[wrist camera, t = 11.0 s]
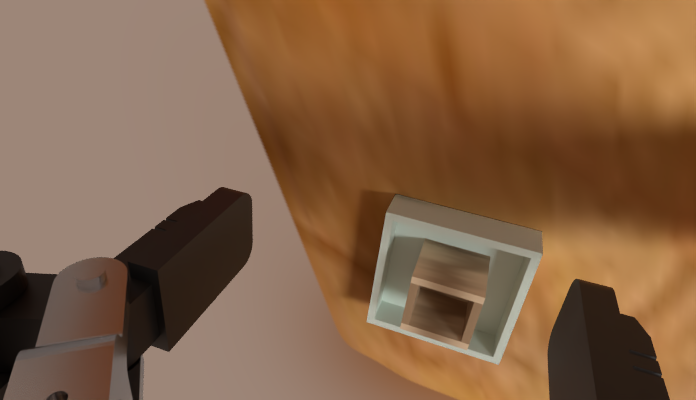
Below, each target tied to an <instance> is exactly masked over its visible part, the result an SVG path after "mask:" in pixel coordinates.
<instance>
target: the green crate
mask: <svg viewBox="0 0 696 400" xmlns="http://www.w3.org/2000/svg"><path fill="white" fill-rule="evenodd" d="M425 238H426V239H430V240H433V241H437V242H441V243H444V244H448V245H451V246H455V247H458V248H462V249H466V250H469V251H473V252H476V253H480V254H483V255H487V256H490V264H489V272H488V280H487V289H486V297H485V300H484V303H483V306H482V309H481V312H480V315H479V318H478V321H477V324H476V326H475V329H474V332H473V335H472V338H471V341H470V344H469V347H468V349H467V350H464V349H461V348H458V347H455V346H452V345H449V344H446V343H443V342H440V341H437V340H434V339H431V338H428V337H424V336H421V335H418V334H415V333H412V332H409V331H406V330H403V329H400V325H401V321H402V317H403V313H404V308H405V304H406V300H407V296H408V291H409V287H410V283H411V279H412V275H413V272H414V269H415V266H416V264H417V261H418V258H419V255H420V252H421V249H422V246H423V243H424V241H425ZM542 255H543V246H542V231H538V230H534V229H530V228H526V227H522V226H518V225H515V224H511V223H507V222H503V221H499V220H495V219H491V218H487V217H484V216H480V215H476V214H472V213H468V212H464V211H460V210H456V209H453V208H449V207H445V206H441V205H437V204H433V203H429V202H425V201H422V200H418V199H414V198H410V197H406V196H402V195H398V194H395V196H394V198H393V200H392V202H391V204H390V206H389V208H388V209H387V211H386V216H385V222H384V227H383V233H382V238H381V244H380V250H379V255H378V261H377V267H376V272H375V278H374V283H373V289H372V295H371V300H370V306H369V311H368V317H367V322H368V323H371V324H375V325H378V326H381V327H384V328H387V329H390V330H393V331H396V332H399V333H402V334H405V335H408V336H412V337H415V338H418V339H421V340H424V341H427V342H430V343H433V344H436V345H439V346H442V347H446V348H449V349H452V350H455V351H458V352H461V353H464V354H467V355H470V356H473V357H476V358H479V359H483V360H486V361H489V362H492V363H495V364H498V365H499V363H500V361H501V358H502V356H503V353H504V350H505V348H506V345H507V343H508V340H509V338H510V335H511V333H512V330H513V328H514V325H515V323H516V320H517V318H518V315H519V313H520V310H521V308H522V305H523V303H524V300H525V298H526V295H527V293H528V290H529V287H530V285H531V282H532V280H533V277H534V275H535V272H536V270H537V267H538V265H539V262H540V260H541V257H542Z"/></svg>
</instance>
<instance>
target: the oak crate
mask: <svg viewBox="0 0 696 400" xmlns="http://www.w3.org/2000/svg"><path fill="white" fill-rule="evenodd" d="M489 264H490V256H487V255H483V254H480V253H476V252H473V251H469V250H466V249H462V248H458V247H455V246H451V245H448V244H444V243H441V242H437V241H433V240H430V239H426V238H425V241H424V243H423V246H422V249H421V252H420V255H419V258H418V261H417V264H416V266H415V269H414V272H413V275H412V279H411V283H410V287H409V291H408V296H407V300H406V304H405V308H404V313H403V317H402V321H401V325H400V329H403V330H406V331H409V332H412V333H415V334H418V335H421V336H424V337H428V338H431V339H434V340H437V341H440V342H443V343H446V344H449V345H452V346H455V347H458V348H461V349H464V350H467V349H468V347H469V344H470V341H471V338H472V335H473V332H474V329H475V326H476V324H477V321H478V318H479V315H480V312H481V309H482V306H483V303H484V300H485V297H486V289H487V280H488V272H489Z"/></svg>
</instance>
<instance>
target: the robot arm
mask: <svg viewBox="0 0 696 400" xmlns="http://www.w3.org/2000/svg"><path fill="white" fill-rule="evenodd" d="M252 240H253V239H252V199H251V196H250V195H249V194H247V193H243V192H240V191H236V190H232V189H228V188H224V187H221V188H219V189H217V190H216V191H215V192H214V193H212V194H211V195H210V196H208V197H207V198H206V199H205V200H203V201H200V200H198V201H195V202H193V203H190V204H188V205H185V206H183V207H180V208H179V209H177V210H176V211H175V212H173V213H172V214H171V215H170V216H168V217H167V218H166V221H165V220H163V221H162V222H161V223H159V224H158V225H157V226H156V227H155V229H151V230H150V231H149V232H147V233H146V234H145V235H144V236H142V237H141V238H140V239H138V240H137V241H136V242H134V243H133V244H132V245H130V246H129V247H128V248H127V249H125V250H124V251H123V252H121V253H120V254H119V255H118V256H116V257H115V258H114V259H113V258H106V257H97V258H90V259H85V260H82V261H79V262H76V263H74V264H72V265H70V266H68V267H66V268H65V269H63V270H62V271H61V272H60V273H59V274H58V275H57V274H38V273H25V270H24V267H23V264H22V261H21V258H20V257H19V256H18V255H16V254H15V253H12V252H8V251H0V400H143V378H144V375H143V374H144V359H143V353H144V352H145V351H146V350H147V349H148V348H149V347H150V346H154V347H157V348H160V349H163V350H165V351H170V350H171V349H172V348H173V347H174V346H175V344H176V343H177V342H178V341H179V340H180V339H181V338H182V336H183V335H184V334H185V333H186V332H187V331H188V330H189V328H190V327H191V326H192V325H193V324H194V323H195V322H196V320H197V319H198V318H199V317H200V316H201V314H202V313H203V312H204V311H205V310H206V309H207V308H208V306H209V305H210V304H211V303H212V302H213V301H214V300H215V299H216V297H217V296H218V295H219V294H220V293H221V292H222V291H223V289H224V288H225V287H226V286H227V285H228V284H229V283H230V281H231V280H232V279H233V278H234V277H235V276H236V275H237V273H238V272H239V271H240V270H241V269H242V268H243V267H244V265H245V264H246V262H247V261H248V258H249V256H250V253H251V250H252V242H253V241H252ZM656 358H657V357H656V353H655V350H654V347H653V344H652V340H651V337H650V336H649V335H648V334H647V332H646V331H645V330H644V329H643V327H642V326H641V325H640V324H639V322H638V321H637V320H636V319H635V317H631V316H627V315H623V314H620V312H619V308H618V304H617V299H616V295H615V292H614V289H613V288H611V287H607V286H603V285H599V284H595V283H591V282H587V281H583V280H579V279H575V280H574V281H573V283H572V284H571V286H570V289H569V291H568V293H567V296H566V298H565V301H564V303H563V305H562V308H561V310H560V312H559V315H558V317H557V320H556V322H555V324H554V327H553V329H552V332H551V336H550V340H549V346H548V373H549V395H550V400H670V399H669V396H668V392H667V389H666V386H665V383H664V379H663V378H661V375H662V373H661V370H660V366H659V363H658V361H656Z"/></svg>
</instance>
